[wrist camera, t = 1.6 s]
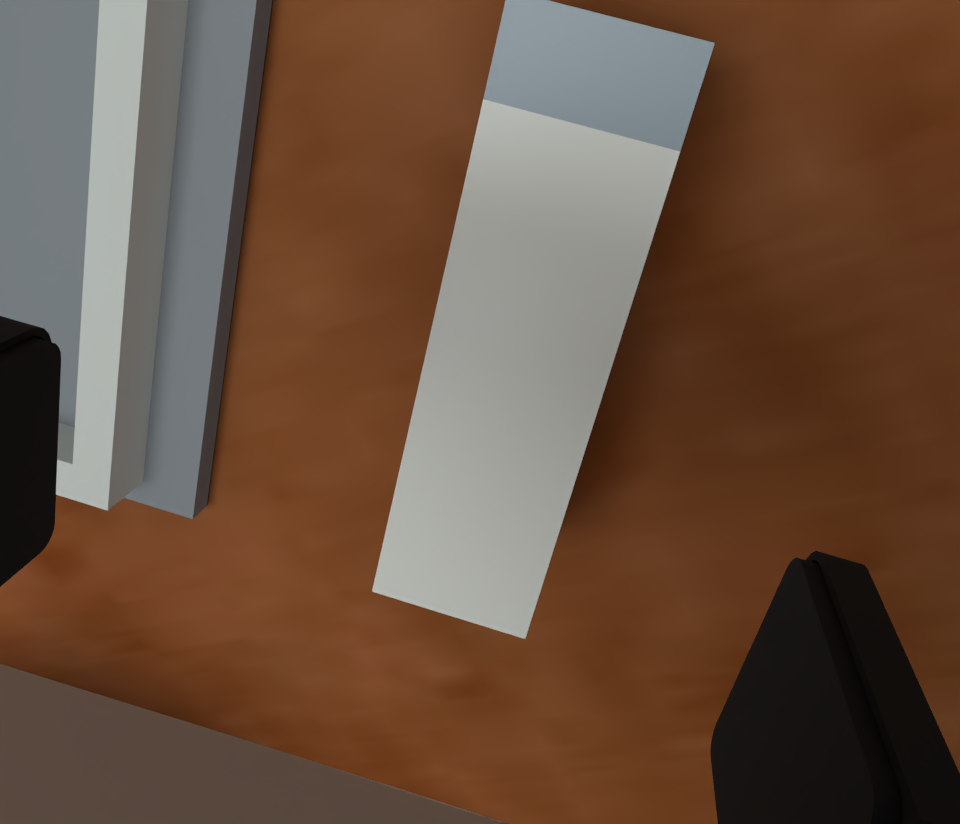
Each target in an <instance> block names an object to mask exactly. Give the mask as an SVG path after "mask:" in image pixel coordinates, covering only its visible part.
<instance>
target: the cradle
mask: <svg viewBox="0 0 960 824" xmlns="http://www.w3.org/2000/svg"><path fill="white" fill-rule="evenodd" d="M271 7H272V0H0V316H3V317H6V318H9V319H13V320H16V321H20V322H23V323H27V324H30V325H34V326H37V327H41V328H44V329H45V330H46V331H47V332H48V333H49V335H50V338H51V342H52V343H55V344H57V346H58V347H59V349H60V352H61V377H60V402H59V427H58V452H57V477H56V495H59V496H63V497H66V498H69V499H72V500H75V501H79V502H82V503H85V504H88V505H92V506H95V507H98V508H101V509H104V510H109V509H110V508H111V507H113V506H114V505H115V504H116V503H117V502H119V501H120V500H121V499H122V498H126V499H129V500H133V501H136V502H139V503H142V504H145V505H149V506H152V507H155V508H158V509H162V510H165V511H168V512H171V513H175V514H178V515H181V516H184V517H188V518H191V519H193V518H194V517H195V516H196V515H197V514H198V513H199V512H200V511H201V510H202V509H204V508H205V507H206V506H207V501H208V494H209V486H210V478H211V470H212V463H213V455H214V447H215V440H216V432H217V424H218V416H219V409H220V401H221V393H222V386H223V378H224V370H225V362H226V355H227V347H228V339H229V331H230V324H231V316H232V308H233V301H234V293H235V285H236V277H237V270H238V262H239V254H240V247H241V239H242V231H243V223H244V216H245V208H246V200H247V193H248V185H249V177H250V169H251V162H252V154H253V146H254V139H255V131H256V123H257V115H258V108H259V100H260V92H261V85H262V77H263V69H264V61H265V54H266V46H267V38H268V30H269V23H270V15H271Z"/></svg>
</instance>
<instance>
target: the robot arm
mask: <svg viewBox="0 0 960 824" xmlns="http://www.w3.org/2000/svg"><path fill="white" fill-rule="evenodd" d="M60 377H61V352H60V349H59V347H58V346H57V344H55V343H52V342H51V338H50V335H49V333H48V332H47V331H46V330H45V329H44V328H41V327H37V326H34V325H30V324H27V323H23V322H20V321H16V320H13V319H9V318H6V317H3V316H0V586H1V585H3V584H4V583H5V582H6V581H7V580H9V579H10V578H11V577H12V576H13V575H14V574H16V573H17V572H18V571H19V570H20V569H22V568H23V567H24V566H25V565H26V564H28V563H29V562H30V561H31V560H32V559H33V558H35V557H36V556H37V555H38V554H39V553H40V552H41V551H42V550H43V549H44V548H45V547H46V545H47V544H48V542H49V540H50V538H51V536H52V533H53V530H54V524H55V502H56V477H57V452H58V427H59V402H60ZM711 763H712V772H713V781H714V791H715V800H716V809H717V819H718V824H960V774H959V771H958V769H957V767H956V765H955V762H954V760H953V758H952V756H951V754H950V751H949V749H948V747H947V745H946V742H945V740H944V738H943V736H942V734H941V731H940V729H939V727H938V725H937V722H936V720H935V718H934V716H933V714H932V711H931V709H930V707H929V705H928V702H927V700H926V698H925V696H924V694H923V691H922V689H921V687H920V685H919V682H918V680H917V678H916V676H915V674H914V671H913V669H912V667H911V665H910V662H909V660H908V658H907V656H906V654H905V651H904V649H903V647H902V645H901V642H900V640H899V638H898V636H897V634H896V631H895V629H894V627H893V625H892V622H891V620H890V618H889V616H888V614H887V611H886V609H885V607H884V605H883V602H882V600H881V598H880V596H879V594H878V591H877V589H876V587H875V585H874V582H873V580H872V578H871V576H870V574H869V571H868V569H867V568H866V567H865V565H863V564H859V563H856V562H852V561H849V560H845V559H842V558H838V557H835V556H831V555H828V554H825V553H821V552H817V551H815V552H813V553H811V555H810V556H809V557H808V558H807V560H802V559H799V558H795V559H793V560H792V561H791V562H790V564H789V566H788V567H787V569H786V571H785V574H784V576H783V578H782V580H781V582H780V585H779V587H778V589H777V591H776V593H775V596H774V598H773V600H772V602H771V604H770V607H769V609H768V611H767V613H766V615H765V618H764V620H763V622H762V624H761V626H760V629H759V631H758V633H757V635H756V637H755V640H754V642H753V644H752V646H751V648H750V651H749V653H748V655H747V657H746V659H745V662H744V664H743V666H742V668H741V670H740V673H739V675H738V677H737V679H736V681H735V684H734V686H733V688H732V690H731V692H730V695H729V697H728V699H727V701H726V703H725V706H724V708H723V710H722V712H721V714H720V717H719V719H718V721H717V723H716V726H715V729H714V733H713V737H712V742H711ZM0 824H508V823H504V822H501V821H498V820H495V819H492V818H489V817H486V816H483V815H480V814H476V813H473V812H470V811H467V810H464V809H461V808H458V807H455V806H451V805H448V804H445V803H442V802H439V801H436V800H433V799H429V798H426V797H423V796H420V795H417V794H414V793H411V792H407V791H404V790H401V789H398V788H395V787H392V786H389V785H385V784H382V783H379V782H376V781H373V780H370V779H367V778H363V777H360V776H357V775H354V774H351V773H348V772H344V771H341V770H338V769H335V768H332V767H329V766H326V765H322V764H319V763H316V762H313V761H310V760H307V759H304V758H300V757H297V756H294V755H291V754H288V753H285V752H281V751H278V750H275V749H272V748H269V747H266V746H262V745H259V744H256V743H253V742H250V741H246V740H243V739H240V738H237V737H234V736H231V735H227V734H224V733H221V732H218V731H215V730H211V729H208V728H205V727H202V726H199V725H196V724H192V723H189V722H186V721H183V720H180V719H176V718H173V717H170V716H167V715H163V714H160V713H157V712H154V711H151V710H147V709H144V708H141V707H138V706H134V705H131V704H128V703H125V702H122V701H118V700H115V699H112V698H109V697H105V696H102V695H99V694H96V693H92V692H89V691H86V690H83V689H80V688H76V687H73V686H70V685H67V684H63V683H60V682H57V681H54V680H51V679H47V678H44V677H41V676H38V675H34V674H31V673H28V672H25V671H22V670H18V669H15V668H12V667H9V666H5V665H2V664H0Z"/></svg>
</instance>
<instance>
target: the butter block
mask: <svg viewBox="0 0 960 824" xmlns="http://www.w3.org/2000/svg"><path fill="white" fill-rule="evenodd" d="M714 44H715V43H713V42H709V41H705V40H701V39H697V38H693V37H689V36H686V35H682V34H678V33H674V32H670V31H666V30H662V29H658V28H654V27H650V26H646V25H643V24H639V23H635V22H631V21H627V20H623V19H619V18H615V17H611V16H607V15H603V14H600V13H596V12H592V11H588V10H584V9H580V8H576V7H572V6H568V5H564V4H560V3H557V2H553V1H549V0H506V1H505V5H504V10H503V14H502V19H501V23H500V28H499V32H498V36H497V41H496V45H495V50H494V54H493V58H492V63H491V67H490V72H489V76H488V81H487V85H486V89H485V94H484V98H483V103H482V107H481V112H480V116H479V120H478V125H477V129H476V134H475V138H474V143H473V147H472V151H471V156H470V160H469V165H468V169H467V174H466V178H465V182H464V187H463V191H462V196H461V200H460V205H459V209H458V213H457V218H456V222H455V227H454V231H453V236H452V240H451V244H450V249H449V253H448V258H447V262H446V267H445V271H444V275H443V280H442V284H441V289H440V293H439V298H438V302H437V306H436V311H435V315H434V320H433V324H432V328H431V333H430V337H429V342H428V346H427V351H426V355H425V359H424V364H423V368H422V373H421V377H420V382H419V386H418V390H417V395H416V399H415V404H414V408H413V413H412V417H411V421H410V426H409V430H408V435H407V439H406V444H405V448H404V452H403V457H402V461H401V466H400V470H399V475H398V479H397V483H396V488H395V492H394V497H393V501H392V506H391V510H390V514H389V519H388V523H387V528H386V532H385V537H384V541H383V545H382V550H381V554H380V559H379V563H378V568H377V572H376V576H375V581H374V585H373V590H372V592H375V593H378V594H382V595H385V596H388V597H391V598H395V599H398V600H401V601H404V602H407V603H411V604H414V605H417V606H420V607H424V608H427V609H430V610H433V611H436V612H440V613H443V614H446V615H449V616H453V617H456V618H459V619H462V620H465V621H469V622H472V623H475V624H478V625H482V626H485V627H488V628H491V629H494V630H498V631H501V632H504V633H507V634H511V635H514V636H517V637H520V638H523V639H525V638H526V635H527V632H528V629H529V625H530V622H531V619H532V616H533V613H534V610H535V607H536V603H537V600H538V597H539V594H540V591H541V588H542V585H543V581H544V578H545V575H546V572H547V569H548V566H549V563H550V559H551V556H552V553H553V550H554V547H555V544H556V541H557V537H558V534H559V531H560V528H561V525H562V522H563V519H564V515H565V512H566V509H567V506H568V503H569V500H570V497H571V493H572V490H573V487H574V484H575V481H576V478H577V475H578V471H579V468H580V465H581V462H582V459H583V456H584V453H585V449H586V446H587V443H588V440H589V437H590V434H591V431H592V427H593V424H594V421H595V418H596V415H597V412H598V409H599V405H600V402H601V399H602V396H603V393H604V390H605V387H606V383H607V380H608V377H609V374H610V371H611V368H612V365H613V361H614V358H615V355H616V352H617V349H618V346H619V343H620V339H621V336H622V333H623V330H624V327H625V324H626V321H627V317H628V314H629V311H630V308H631V305H632V302H633V299H634V295H635V292H636V289H637V286H638V283H639V280H640V277H641V273H642V270H643V267H644V264H645V261H646V258H647V255H648V251H649V248H650V245H651V242H652V239H653V236H654V233H655V229H656V226H657V223H658V220H659V217H660V214H661V211H662V207H663V204H664V201H665V198H666V195H667V192H668V189H669V185H670V182H671V179H672V176H673V173H674V170H675V167H676V163H677V160H678V157H679V154H680V151H681V148H682V145H683V141H684V138H685V135H686V132H687V129H688V126H689V123H690V119H691V116H692V113H693V110H694V107H695V104H696V101H697V97H698V94H699V91H700V88H701V85H702V82H703V79H704V75H705V72H706V69H707V66H708V63H709V60H710V57H711V53H712V50H713V47H714Z"/></svg>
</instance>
